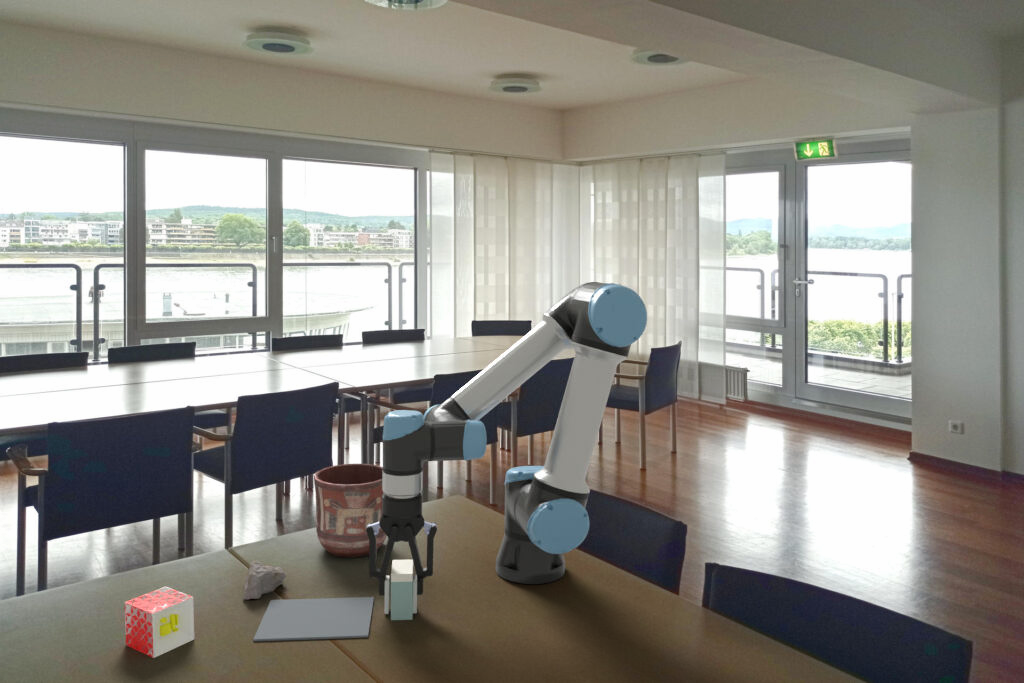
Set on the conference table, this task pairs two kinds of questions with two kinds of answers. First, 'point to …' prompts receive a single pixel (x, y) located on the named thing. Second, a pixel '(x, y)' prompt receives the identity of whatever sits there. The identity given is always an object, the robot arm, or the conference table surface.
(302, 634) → the slate mat
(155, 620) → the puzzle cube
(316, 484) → the pottery
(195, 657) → the conference table surface
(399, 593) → the painted block
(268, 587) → the stone
